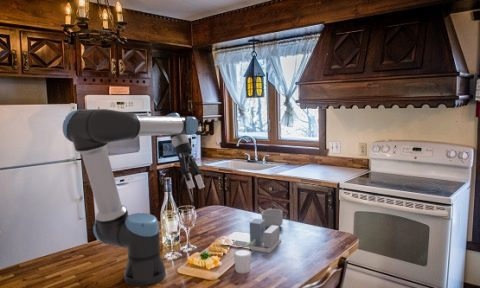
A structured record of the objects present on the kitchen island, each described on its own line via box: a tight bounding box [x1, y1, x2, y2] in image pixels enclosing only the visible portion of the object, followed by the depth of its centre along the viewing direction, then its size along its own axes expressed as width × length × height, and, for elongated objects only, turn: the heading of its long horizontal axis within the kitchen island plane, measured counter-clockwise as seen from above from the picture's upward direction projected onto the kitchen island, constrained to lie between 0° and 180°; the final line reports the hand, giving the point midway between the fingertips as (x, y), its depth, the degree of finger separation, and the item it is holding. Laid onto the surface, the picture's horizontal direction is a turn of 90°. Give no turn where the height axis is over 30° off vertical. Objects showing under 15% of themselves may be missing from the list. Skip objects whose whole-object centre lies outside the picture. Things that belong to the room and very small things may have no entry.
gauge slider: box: [249, 218, 266, 245], centre depth 166 cm, size 5×10×9 cm, turn 154°
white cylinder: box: [233, 248, 252, 274], centre depth 143 cm, size 7×7×7 cm
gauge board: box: [227, 225, 282, 254], centre depth 169 cm, size 24×14×8 cm, turn 64°
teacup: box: [261, 208, 284, 229], centre depth 192 cm, size 14×11×8 cm
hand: (197, 188), depth 168 cm, fingers open, 13 cm apart
